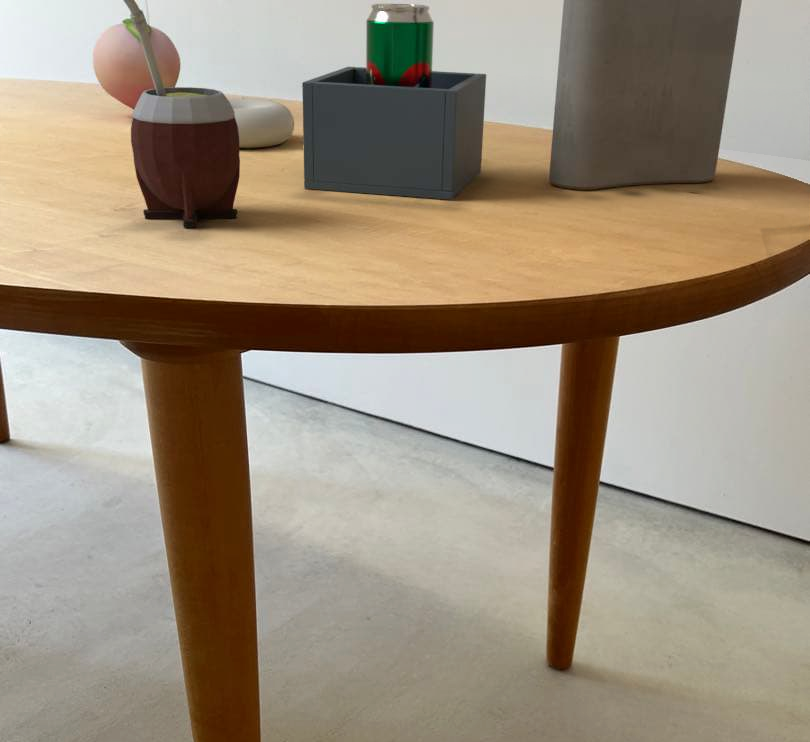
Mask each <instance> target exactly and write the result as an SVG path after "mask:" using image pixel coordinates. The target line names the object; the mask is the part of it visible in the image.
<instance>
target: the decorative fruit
mask: <svg viewBox="0 0 810 742" xmlns="http://www.w3.org/2000/svg"><path fill="white" fill-rule="evenodd" d="M121 22H122V23H118V24H114V25H111V26H109V27H108V28H107V29H105V30H103V32H102V33H101V34H100V35H99V36H98V38H97V40H96V42H95V44H94V47H93V52H92V66H93V71H94V74H95V76H96V79H97V81H98V83H99V84H100V86H101V88H102V89H103V90H104V91H105V93H107V94H108V95H109V96H110V97H112V98H113V99H115V100H117V102H120V103H121V104H123V105H124V106H126V107H128V108H130V109H132V111H134V109H135V107H136V104H137V102H138V100H139V99H140V97H141V95H142V93H143V92H144V91H146V90H150V89H155V86H154V83H153V80H152V76H151V73H150V70H149V66H148V63H147V60H146V57H145V53H144V50H143V47H142V43H141V40H140V37H139V34H138V31H137V30H135V28H134V25H133V22H132V19H131V18H125V19H123V20H122V21H121ZM147 25H148V26H147V32H148V35H149V39H150V42H151V46H152V49H153V52H154V56H155V59H156V62H157V66H158V69H159V73H160V76H161V79H162V82H163V86H164V88H172V87H177V83H178V81H179V77H180V73H181V57H180V53H179V52H178V49H177V48H176V46H175V44H174V42H173V41H172V40H171V38H170V37H169V36H168V35H167V34H166V32H164V31H162V30H160V29H159V28H157V27H154V26H151V25H150V24H148V23H147Z"/></svg>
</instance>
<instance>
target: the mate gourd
mask: <svg viewBox="0 0 810 742" xmlns="http://www.w3.org/2000/svg"><path fill="white" fill-rule="evenodd" d="M122 1H123V2H124V4H125V5H126V6H127V8H128V10H129V12H130V15H129V16H130V19H132V22H133V25H134V28H135V30H137V31H138V34H139V37H140V40H141V43H142V47H143V50H144V53H145V57H146V60H147V63H148V66H149V70H150V73H151V76H152V80H153V83H154V86H155V89H150V90H146V91H144V92H143V93H142V95H141V97H140V99H139V100H138V102H137V104H136V107H135V109H134V110H132V113H131V116H132V120H131V126H130V144H131V149H132V154H133V165H134V170H135V176H136V180H137V183H138V185H139V189H140V191H141V193H142V196H143V198H144V203H145V206H146V208H147V209H143V211H142V213H143V215H144V219H146V220H154V219H155V220H158V219H159V220H161V219H162V220H164V219H165V220H167V219H168V220H169V219H172V220H174V219H177V220H179V219H180V220H182V222H183V228H185V229H194V228H196V227H197V223H198V220H199V219H237V218H238V209H237V208H234V205H235V199H236V195H237V191H238V186H239V181H240V175H241V174H240V173H241V171H240V169H241V159H240V148H239V132H238V126H237V122H236V119H235V112H234V110H233V108H232V106H231V104H230V102H229V101H228V99H227V98H228V97H227V96H226V95H225V94H224V93H223V92H222V91H221V90H218V89H214V88H206V87H192V86H191V87H190V86H189V87H187V86H186V87H185V86H184V87H183V86H182V87H181V86H180V87H179V86H175V87H172V88H164V86H163V82H162V79H161V76H160V73H159V69H158V66H157V62H156V59H155V56H154V52H153V49H152V46H151V42H150V39H149V35H148V32H147V26H148V25H149V24H148V22H147V20H146V17H145V14H144V11H143V10H142V9H140V7H139V5H138V3H137V2H136V1H135V0H122ZM147 24H148V25H147Z"/></svg>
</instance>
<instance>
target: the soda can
mask: <svg viewBox="0 0 810 742" xmlns="http://www.w3.org/2000/svg"><path fill="white" fill-rule="evenodd" d="M429 10H430V6H429V5H425V4H414V3H413V4H411V3H374V4H371V12H370V14H369V15H368V17H367V19H366V23H365V24H366V26H365V27H366V31H365V33H366V35H365V36H366V39H365V40H366V41H365V46H366V47H365V48H366V49H365V50H366V51H365V68H366V85H382V86H400V87H417V88H432V71H433V57H434V55H433V53H434V28H435V27H434V24H435V23H434V21H433V19H432V17H431V15H430V12H429Z"/></svg>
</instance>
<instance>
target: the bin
mask: <svg viewBox="0 0 810 742" xmlns="http://www.w3.org/2000/svg"><path fill="white" fill-rule="evenodd" d="M486 86H487V74H486V73H475V72H458V71H457V72H454V71H437V70H436V71H435V70H432V88H417V87H400V86H382V85H366V67H362V66H361V67H360V66H357V67H356V66H345V67H343V68H340V69H338V70H334V71H331V72H328V73H326V74H322V75H319V76H317V77H314V78H310V79H308V80H305V81H302V84H301V87H302V128H303V129H302V137H303V138H302V140H303V141H302V142H303V180H304V181H303V187H304V189H305V190H315V191H330V192H343V193H344V192H345V193H354V194H355V193H356V194H368V195H382V196H394V197H408V198H420V199H421V198H422V199H432V200H444V201H445V200H447V201H453V200H454V199H455V197H457V196H458V195H459V194H460V193H461V192H462V191H463V190H464V189H465V188H466V187H467V186H468V185H469V184H470V183H471V182H472V181H473V180H474V179H475V178H476V177H477V176H478V175H479V174H481V173H482V160H483V144H484V143H483V141H484V125H485V124H484V123H485V106H486V105H485V104H486Z"/></svg>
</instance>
